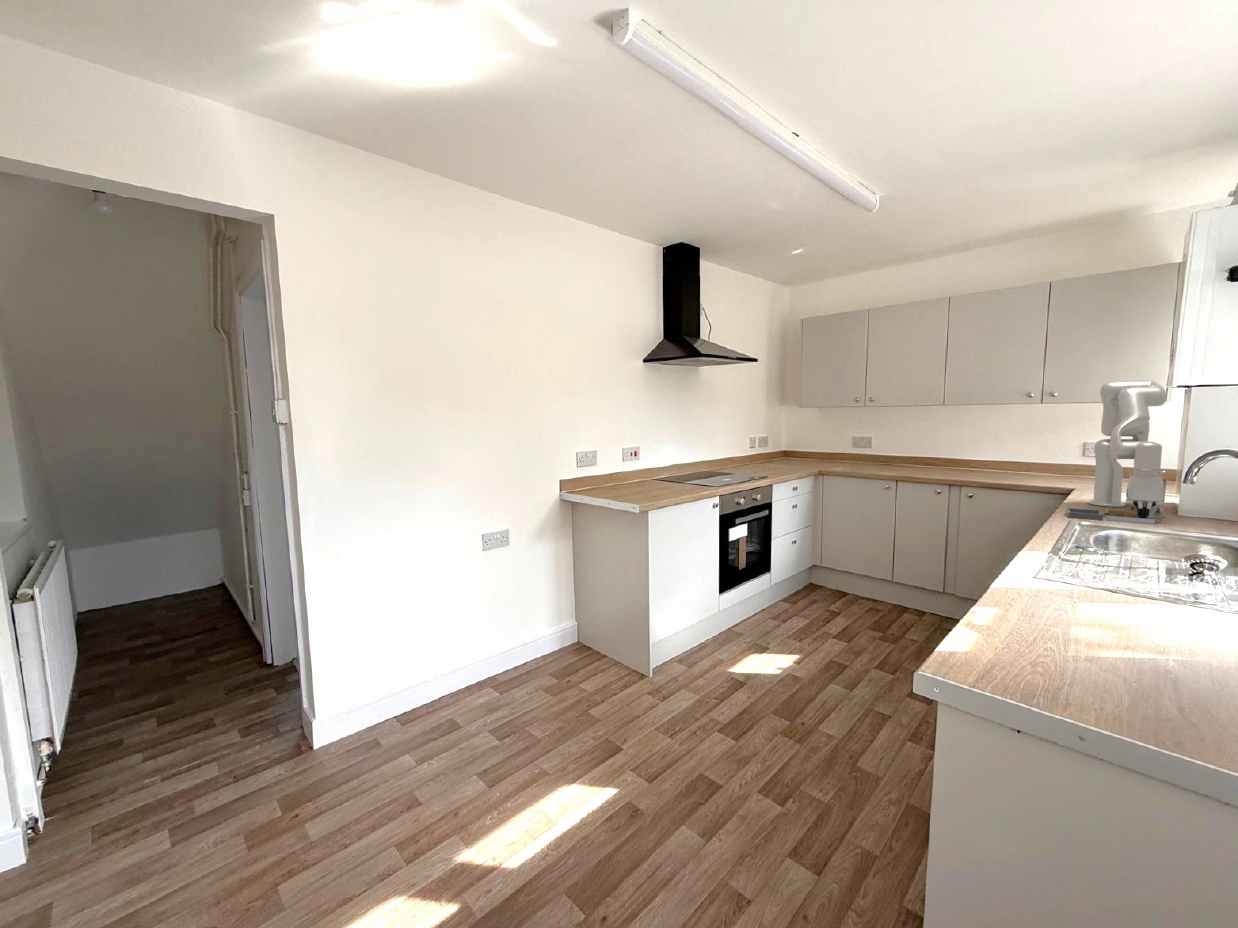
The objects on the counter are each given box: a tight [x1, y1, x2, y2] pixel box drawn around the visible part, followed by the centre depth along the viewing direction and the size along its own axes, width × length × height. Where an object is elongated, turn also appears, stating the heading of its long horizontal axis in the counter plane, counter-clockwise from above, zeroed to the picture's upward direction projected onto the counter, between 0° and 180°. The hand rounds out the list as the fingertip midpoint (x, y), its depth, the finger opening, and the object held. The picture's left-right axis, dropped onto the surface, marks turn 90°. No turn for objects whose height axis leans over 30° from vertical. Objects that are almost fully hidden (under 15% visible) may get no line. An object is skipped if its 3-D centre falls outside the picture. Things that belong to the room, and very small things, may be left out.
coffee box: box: [1129, 479, 1167, 519], centre depth 215 cm, size 9×6×16 cm
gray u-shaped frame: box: [1064, 507, 1104, 521], centre depth 216 cm, size 12×11×2 cm
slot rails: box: [1101, 511, 1156, 525], centre depth 208 cm, size 10×14×2 cm
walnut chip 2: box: [1122, 508, 1137, 518], centre depth 208 cm, size 4×4×4 cm
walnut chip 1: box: [1107, 508, 1124, 517], centre depth 210 cm, size 4×4×4 cm
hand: (1143, 517), depth 205 cm, fingers closed
